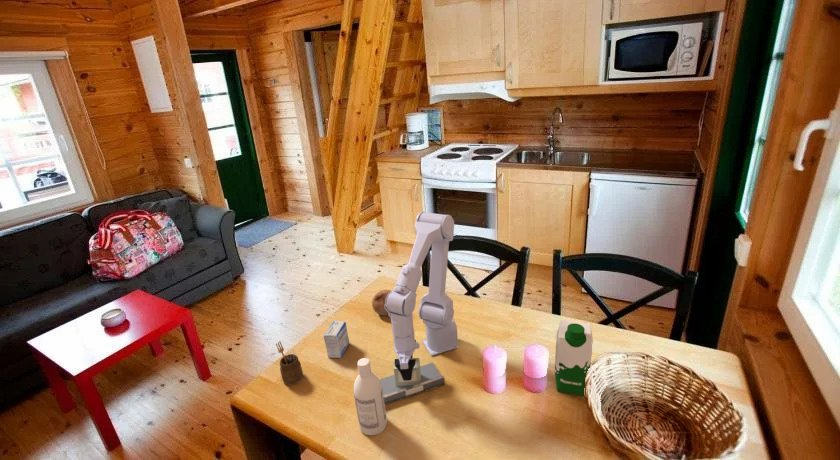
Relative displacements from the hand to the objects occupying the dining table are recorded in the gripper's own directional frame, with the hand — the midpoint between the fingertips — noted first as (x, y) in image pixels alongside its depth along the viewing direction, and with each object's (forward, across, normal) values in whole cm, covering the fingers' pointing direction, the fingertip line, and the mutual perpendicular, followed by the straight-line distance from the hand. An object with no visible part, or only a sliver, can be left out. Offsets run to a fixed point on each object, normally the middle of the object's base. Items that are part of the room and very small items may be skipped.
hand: (407, 371), depth 114 cm
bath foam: (+4, -14, +9) cm, 17 cm away
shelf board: (+4, -1, +1) cm, 4 cm away
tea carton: (+3, 0, 0) cm, 3 cm away
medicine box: (+4, +16, +23) cm, 29 cm away
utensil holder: (+4, +4, +35) cm, 35 cm away
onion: (+4, +36, +10) cm, 38 cm away
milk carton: (+4, -4, -44) cm, 45 cm away
